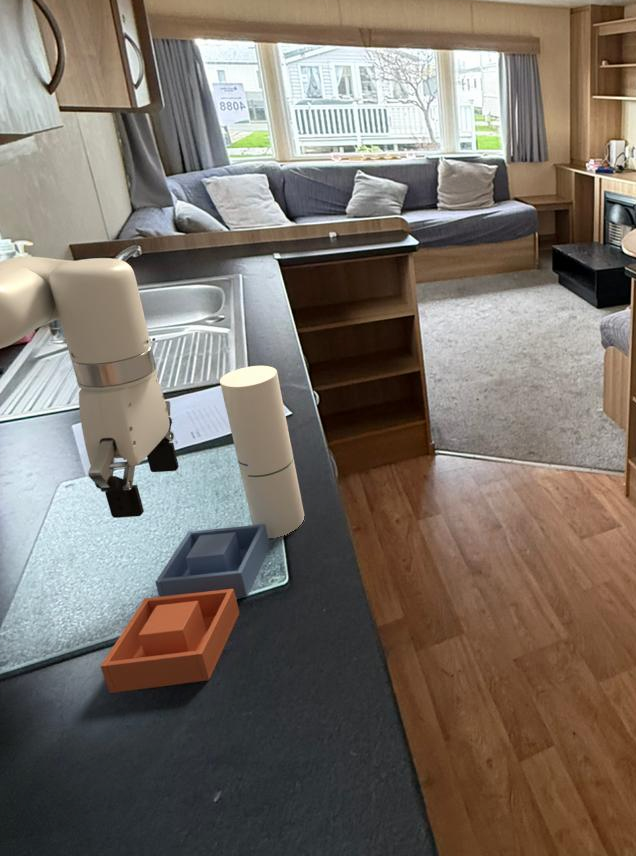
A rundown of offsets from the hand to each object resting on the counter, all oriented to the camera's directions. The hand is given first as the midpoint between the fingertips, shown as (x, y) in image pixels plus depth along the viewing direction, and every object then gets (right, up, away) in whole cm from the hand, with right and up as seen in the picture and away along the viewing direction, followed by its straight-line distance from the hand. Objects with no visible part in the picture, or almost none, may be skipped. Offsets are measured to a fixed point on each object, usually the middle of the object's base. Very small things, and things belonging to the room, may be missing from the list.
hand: (147, 491), depth 81 cm
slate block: (+4, -13, +8) cm, 16 cm away
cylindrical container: (+7, -10, +19) cm, 22 cm away
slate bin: (+4, -13, +8) cm, 16 cm away
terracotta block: (+6, -18, -4) cm, 19 cm away
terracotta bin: (+6, -18, -4) cm, 20 cm away
